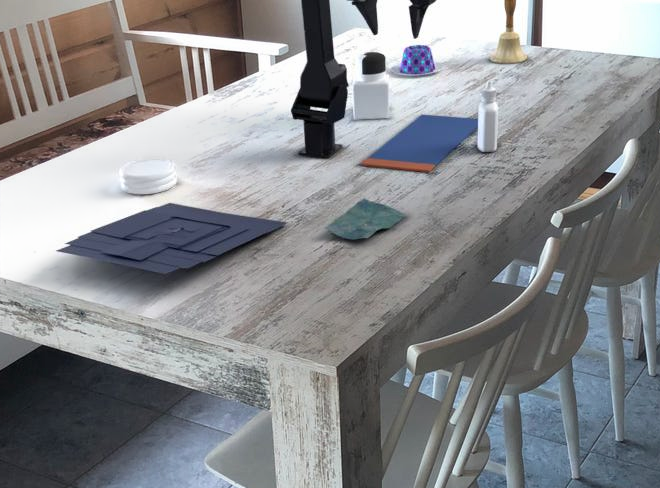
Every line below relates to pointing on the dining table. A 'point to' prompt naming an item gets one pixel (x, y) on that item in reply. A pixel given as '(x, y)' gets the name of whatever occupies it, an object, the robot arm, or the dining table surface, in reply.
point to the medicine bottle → (370, 87)
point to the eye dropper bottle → (488, 120)
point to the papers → (169, 237)
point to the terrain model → (364, 220)
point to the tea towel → (423, 143)
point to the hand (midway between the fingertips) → (395, 36)
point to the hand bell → (509, 40)
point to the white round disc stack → (148, 176)
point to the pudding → (417, 62)
